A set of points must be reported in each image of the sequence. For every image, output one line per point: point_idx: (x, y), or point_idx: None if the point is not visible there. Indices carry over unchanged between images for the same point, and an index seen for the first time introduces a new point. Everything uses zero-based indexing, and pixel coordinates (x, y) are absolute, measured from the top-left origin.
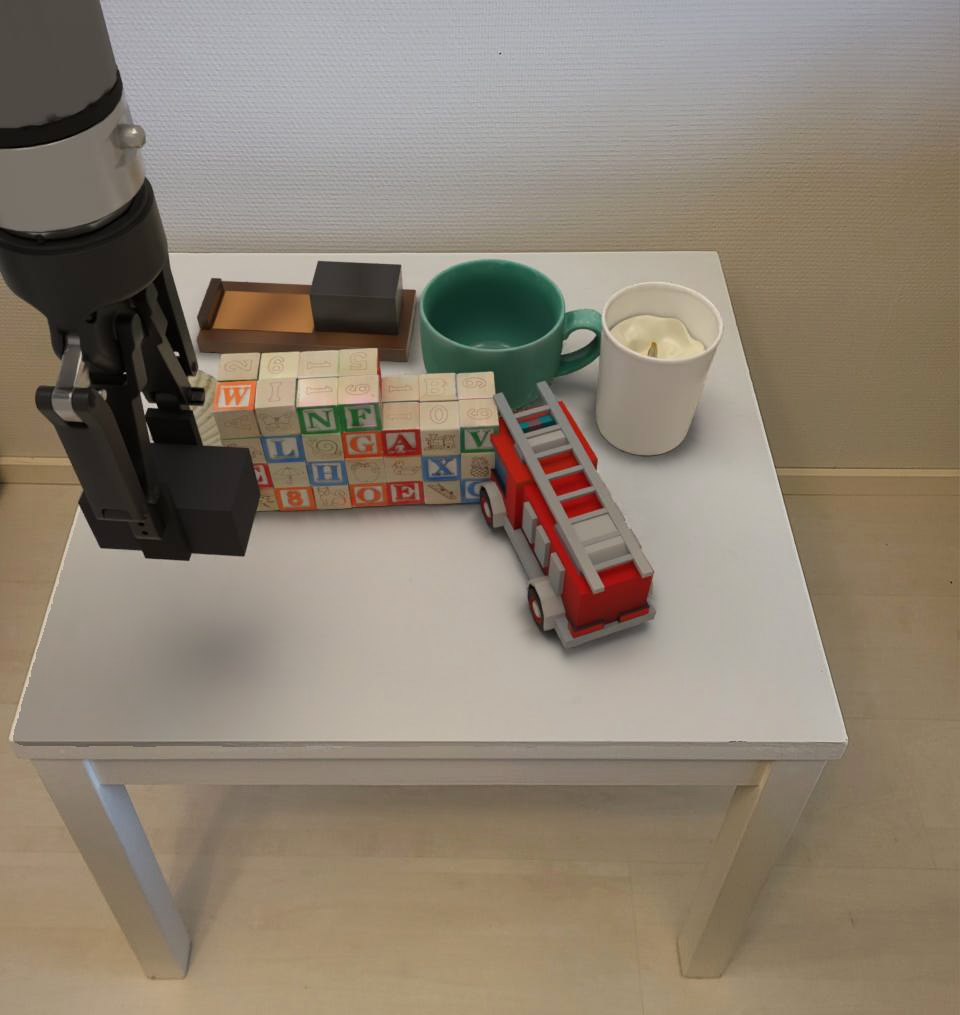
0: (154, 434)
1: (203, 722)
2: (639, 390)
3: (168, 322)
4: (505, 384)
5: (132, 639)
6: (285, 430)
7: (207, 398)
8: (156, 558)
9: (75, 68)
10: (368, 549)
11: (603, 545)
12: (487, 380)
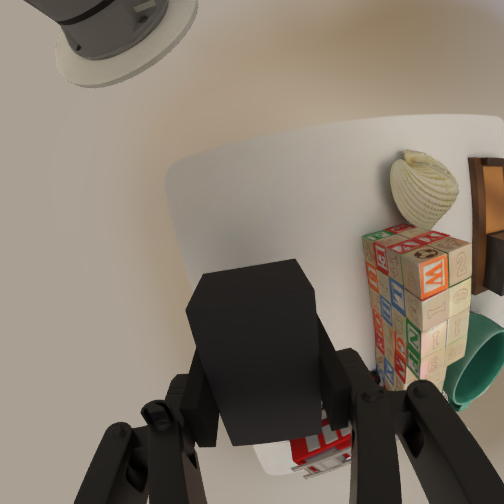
0: (323, 369)
1: (196, 274)
2: None
3: (435, 499)
4: None
5: (241, 202)
6: (408, 309)
7: (439, 202)
8: None
9: None
10: (341, 325)
11: (319, 467)
12: None
